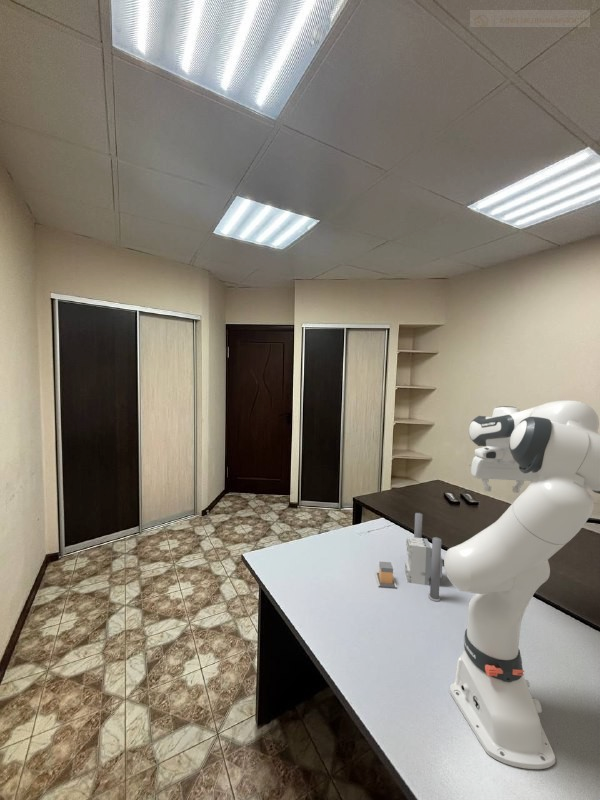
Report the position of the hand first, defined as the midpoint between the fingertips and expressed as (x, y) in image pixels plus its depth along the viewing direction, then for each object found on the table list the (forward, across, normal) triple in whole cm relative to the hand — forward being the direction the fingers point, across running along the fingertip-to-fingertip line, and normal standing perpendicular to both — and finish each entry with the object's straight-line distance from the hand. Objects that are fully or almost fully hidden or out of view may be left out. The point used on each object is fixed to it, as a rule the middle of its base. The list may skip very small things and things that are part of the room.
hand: (501, 491), depth 113 cm
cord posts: (+41, +21, -13) cm, 48 cm away
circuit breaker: (+41, +21, -13) cm, 48 cm away
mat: (+41, +37, -10) cm, 56 cm away
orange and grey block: (+40, +37, -10) cm, 56 cm away
